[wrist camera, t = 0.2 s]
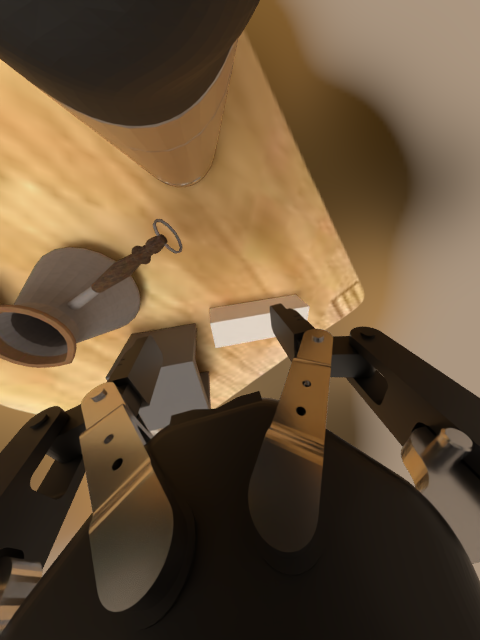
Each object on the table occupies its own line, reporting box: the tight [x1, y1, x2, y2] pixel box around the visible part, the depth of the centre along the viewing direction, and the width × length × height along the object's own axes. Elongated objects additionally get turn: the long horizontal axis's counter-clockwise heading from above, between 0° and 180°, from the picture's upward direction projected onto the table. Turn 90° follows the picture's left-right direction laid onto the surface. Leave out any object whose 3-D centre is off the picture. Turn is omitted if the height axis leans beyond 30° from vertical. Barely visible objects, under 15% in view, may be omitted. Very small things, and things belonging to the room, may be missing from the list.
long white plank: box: [209, 295, 309, 348], centre depth 30 cm, size 16×5×5 cm, turn 95°
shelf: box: [106, 324, 211, 431], centre depth 30 cm, size 11×14×10 cm
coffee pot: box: [0, 219, 182, 368], centre depth 18 cm, size 21×12×15 cm, turn 121°
